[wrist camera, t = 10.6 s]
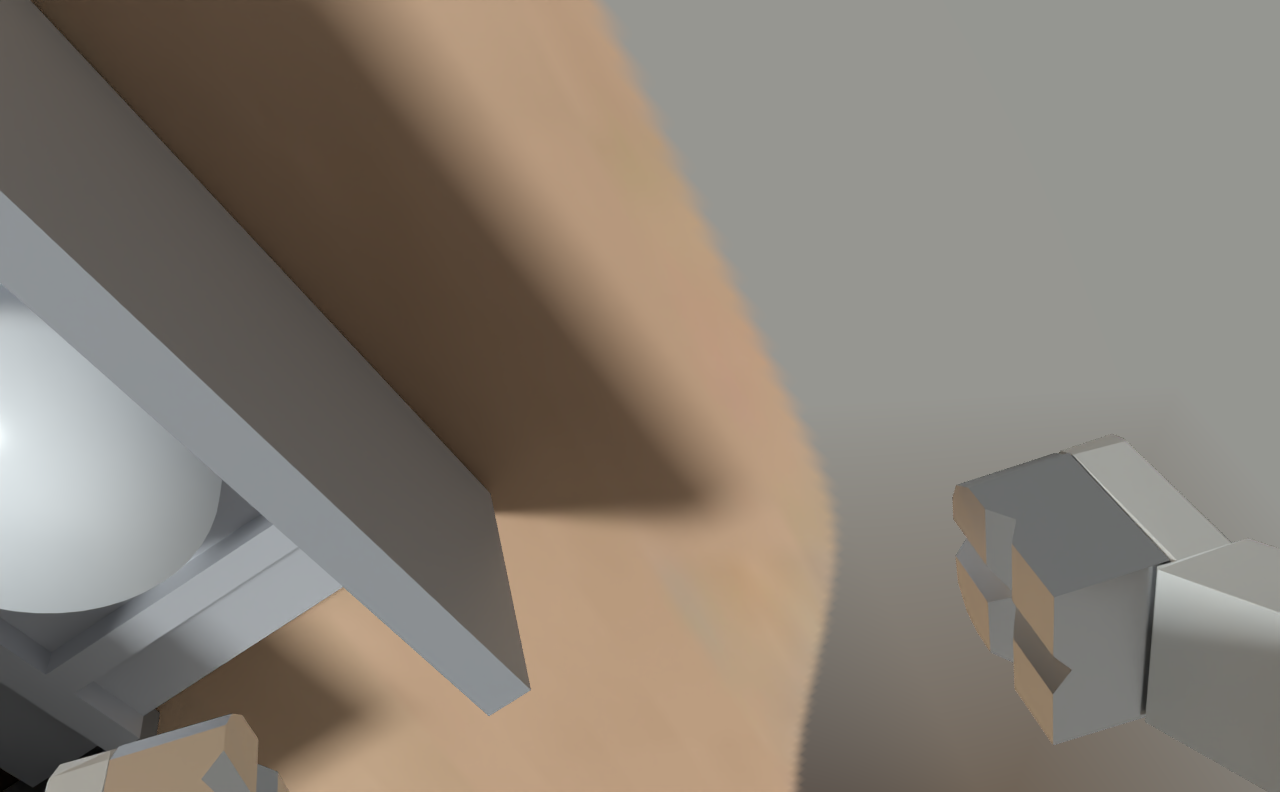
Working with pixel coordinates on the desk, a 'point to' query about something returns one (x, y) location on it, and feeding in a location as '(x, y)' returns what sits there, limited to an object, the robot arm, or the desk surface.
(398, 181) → the desk surface
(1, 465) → the disc
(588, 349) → the desk surface
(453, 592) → the tray
